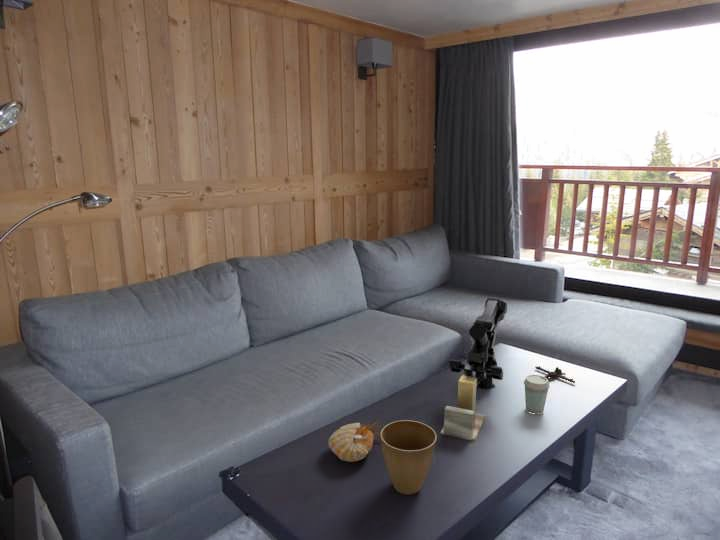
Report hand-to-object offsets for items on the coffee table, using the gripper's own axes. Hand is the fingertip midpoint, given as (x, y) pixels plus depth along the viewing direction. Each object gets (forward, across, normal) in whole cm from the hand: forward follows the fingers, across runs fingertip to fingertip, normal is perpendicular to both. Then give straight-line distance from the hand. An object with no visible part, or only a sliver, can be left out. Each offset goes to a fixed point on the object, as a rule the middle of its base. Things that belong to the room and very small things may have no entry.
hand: (471, 392), depth 181 cm
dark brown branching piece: (-22, +23, +34) cm, 47 cm away
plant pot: (+39, -6, -28) cm, 49 cm away
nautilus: (+32, -25, -21) cm, 46 cm away
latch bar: (+9, 0, 0) cm, 9 cm away
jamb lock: (+12, 0, -2) cm, 12 cm away
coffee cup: (-2, +20, +13) cm, 24 cm away
